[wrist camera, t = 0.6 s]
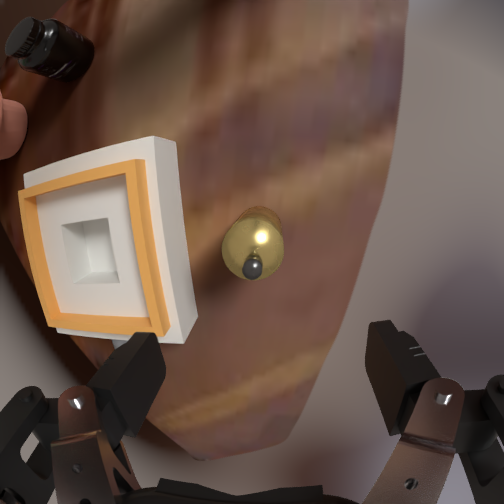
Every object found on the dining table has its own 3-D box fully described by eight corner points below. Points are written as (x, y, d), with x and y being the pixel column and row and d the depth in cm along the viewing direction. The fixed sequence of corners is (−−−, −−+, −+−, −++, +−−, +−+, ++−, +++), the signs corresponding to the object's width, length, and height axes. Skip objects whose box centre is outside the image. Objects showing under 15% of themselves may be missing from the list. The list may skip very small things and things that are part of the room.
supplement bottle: (74, 91, 27) (10, 73, 15) (51, 73, 26) (-8, 57, 15) (105, 47, 25) (48, 14, 14) (79, 33, 24) (25, 5, 13)
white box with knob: (54, 171, 30) (12, 175, 22) (176, 141, 28) (143, 133, 20) (87, 331, 36) (57, 360, 28) (201, 337, 34) (184, 378, 26)
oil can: (235, 208, 30) (214, 225, 19) (279, 204, 29) (282, 221, 19) (239, 250, 31) (221, 288, 21) (282, 248, 30) (286, 286, 20)
